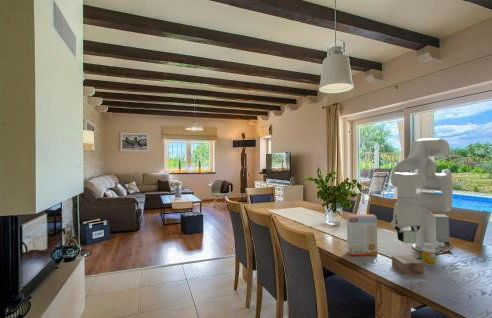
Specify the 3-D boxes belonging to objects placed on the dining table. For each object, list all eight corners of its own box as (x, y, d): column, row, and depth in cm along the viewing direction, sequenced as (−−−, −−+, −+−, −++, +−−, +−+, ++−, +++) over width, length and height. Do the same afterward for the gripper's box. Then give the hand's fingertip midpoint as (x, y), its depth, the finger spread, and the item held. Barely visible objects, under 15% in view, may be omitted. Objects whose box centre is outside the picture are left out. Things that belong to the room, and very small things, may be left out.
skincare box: (445, 239, 163) (445, 214, 163) (450, 243, 156) (449, 216, 156) (429, 238, 166) (429, 213, 166) (433, 241, 159) (433, 215, 159)
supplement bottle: (419, 262, 130) (419, 242, 130) (429, 261, 130) (429, 241, 130) (427, 266, 124) (427, 245, 124) (438, 266, 125) (438, 245, 125)
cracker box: (373, 252, 143) (373, 213, 143) (377, 256, 137) (377, 216, 137) (346, 251, 145) (346, 213, 145) (350, 255, 139) (349, 216, 139)
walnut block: (410, 266, 126) (410, 255, 126) (423, 274, 117) (423, 263, 117) (392, 266, 126) (391, 255, 126) (403, 274, 117) (403, 263, 117)
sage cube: (408, 239, 123) (408, 228, 123) (415, 243, 118) (415, 231, 118) (398, 239, 123) (398, 228, 123) (404, 243, 118) (404, 231, 118)
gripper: (419, 199, 125) (420, 238, 125) (383, 199, 125) (383, 238, 125) (430, 202, 117) (431, 243, 117) (392, 202, 117) (392, 243, 117)
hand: (406, 240), depth 121 cm, fingers closed on sage cube, 5 cm apart
